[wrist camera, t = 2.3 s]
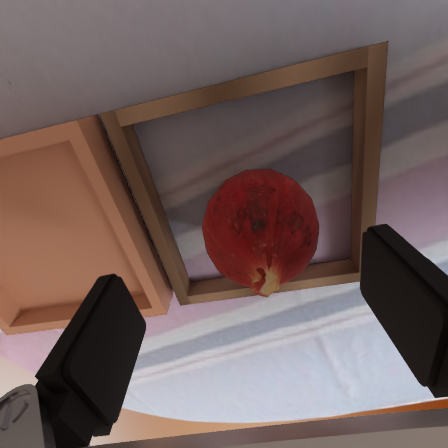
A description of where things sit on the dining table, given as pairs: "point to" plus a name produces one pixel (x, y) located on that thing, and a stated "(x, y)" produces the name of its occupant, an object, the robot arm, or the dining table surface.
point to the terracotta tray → (69, 228)
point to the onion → (260, 229)
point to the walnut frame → (287, 76)
